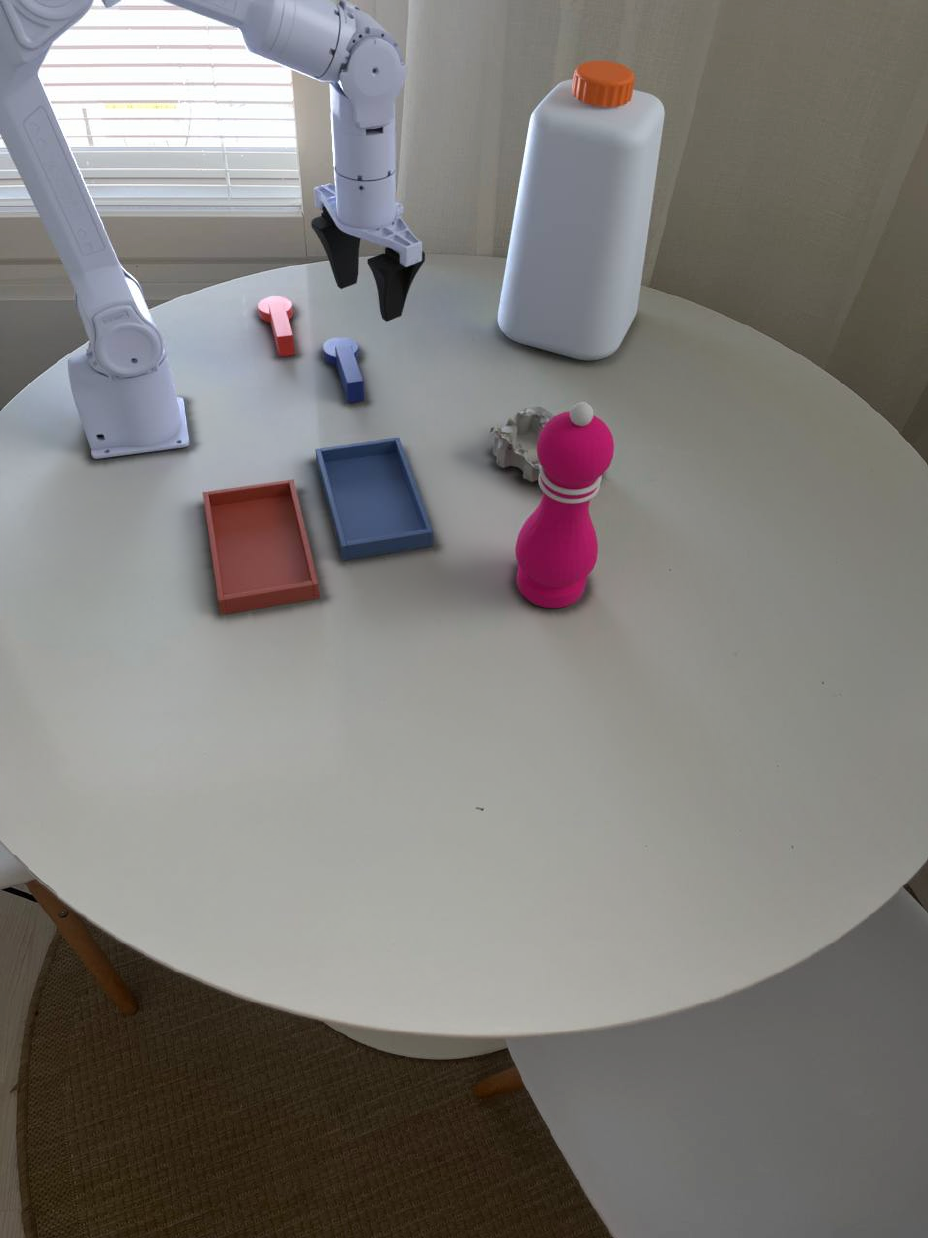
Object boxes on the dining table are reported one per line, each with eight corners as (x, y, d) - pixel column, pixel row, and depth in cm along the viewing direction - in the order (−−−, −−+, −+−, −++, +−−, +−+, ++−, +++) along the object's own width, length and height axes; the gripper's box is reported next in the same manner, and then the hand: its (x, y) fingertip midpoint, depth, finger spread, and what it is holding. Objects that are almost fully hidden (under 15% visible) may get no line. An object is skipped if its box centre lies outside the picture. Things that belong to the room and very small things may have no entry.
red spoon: (304, 353, 104) (302, 333, 102) (269, 357, 103) (266, 337, 101) (290, 303, 110) (288, 283, 108) (257, 306, 110) (254, 286, 108)
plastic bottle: (642, 308, 114) (697, 60, 92) (608, 373, 104) (660, 114, 83) (529, 279, 117) (557, 32, 95) (486, 339, 108) (506, 81, 86)
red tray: (221, 615, 79) (218, 600, 77) (205, 506, 87) (202, 491, 86) (320, 598, 81) (318, 583, 79) (295, 493, 89) (293, 478, 88)
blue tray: (342, 561, 84) (341, 546, 82) (316, 463, 92) (315, 448, 91) (433, 546, 85) (433, 531, 84) (399, 451, 94) (399, 436, 92)
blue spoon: (374, 399, 99) (373, 379, 97) (338, 404, 98) (336, 384, 96) (355, 343, 106) (354, 324, 104) (320, 347, 105) (319, 327, 103)
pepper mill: (584, 620, 80) (627, 442, 65) (504, 605, 81) (528, 426, 66) (593, 562, 85) (635, 384, 70) (517, 548, 86) (542, 368, 70)
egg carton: (482, 458, 94) (484, 426, 91) (525, 425, 98) (529, 393, 95) (565, 506, 90) (571, 474, 87) (607, 469, 94) (614, 437, 91)
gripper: (448, 185, 82) (443, 318, 93) (352, 128, 89) (357, 259, 99) (387, 206, 79) (389, 342, 90) (292, 146, 86) (304, 279, 96)
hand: (369, 300), depth 94 cm, fingers open, 7 cm apart
